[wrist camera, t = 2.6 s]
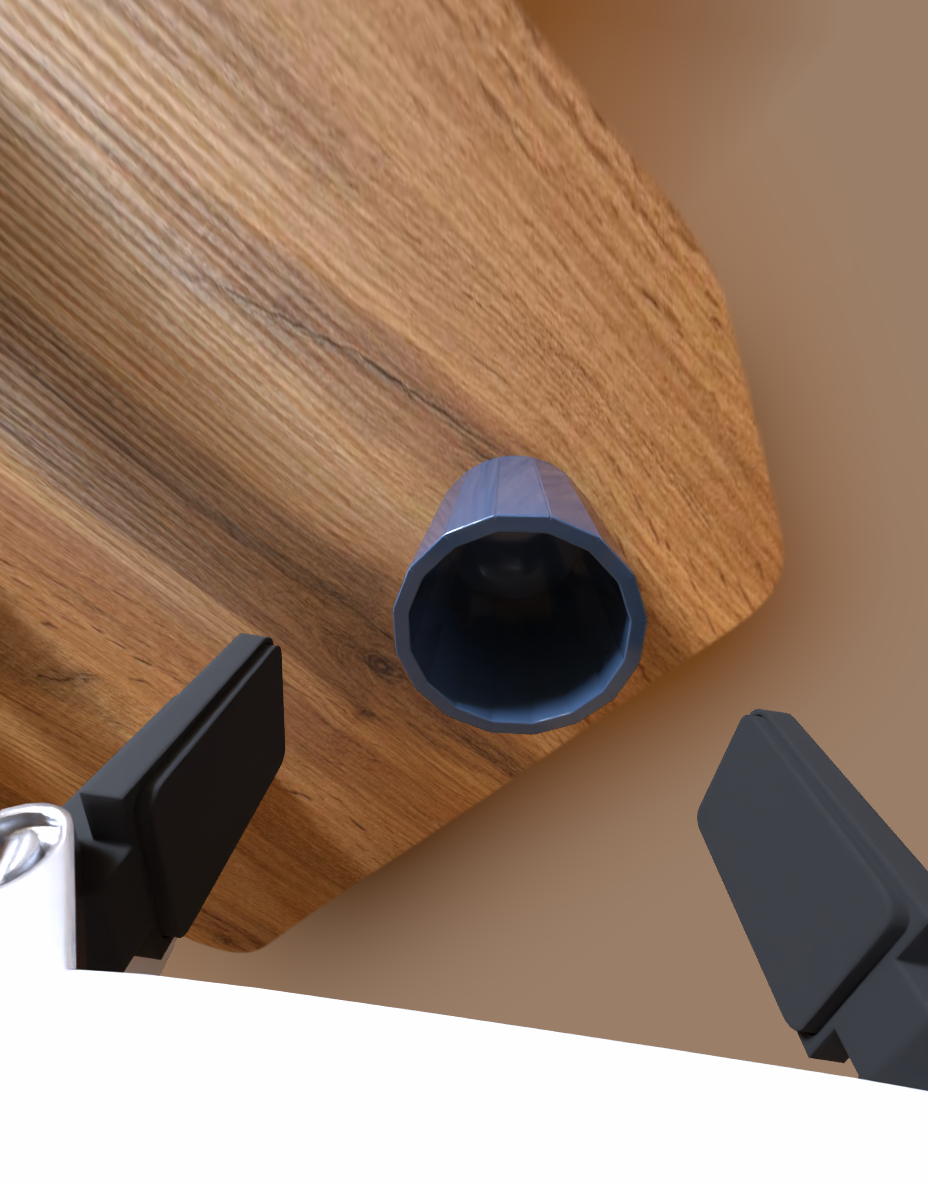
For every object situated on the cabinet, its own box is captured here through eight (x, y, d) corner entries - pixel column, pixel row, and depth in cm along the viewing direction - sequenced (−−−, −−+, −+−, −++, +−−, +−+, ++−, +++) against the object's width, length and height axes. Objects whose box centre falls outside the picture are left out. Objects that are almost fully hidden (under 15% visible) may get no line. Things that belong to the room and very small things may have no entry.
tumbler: (562, 429, 19) (605, 472, 11) (608, 574, 21) (672, 699, 13) (412, 490, 20) (349, 569, 12) (471, 619, 23) (451, 756, 15)
